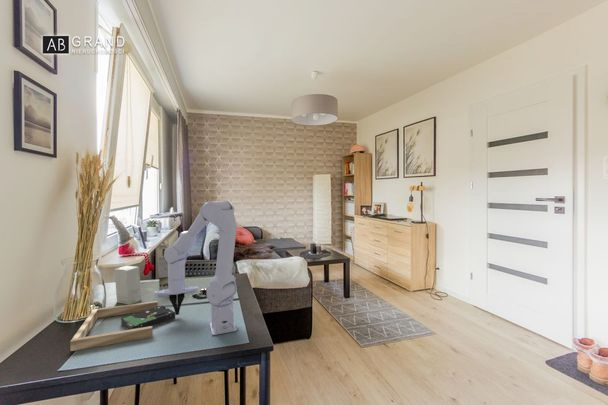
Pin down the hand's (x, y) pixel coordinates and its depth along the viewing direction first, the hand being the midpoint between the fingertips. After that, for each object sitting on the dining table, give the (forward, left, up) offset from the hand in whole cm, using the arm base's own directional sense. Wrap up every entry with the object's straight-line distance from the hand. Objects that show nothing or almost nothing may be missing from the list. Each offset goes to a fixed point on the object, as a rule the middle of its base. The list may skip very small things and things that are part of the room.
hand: (177, 313), depth 108 cm
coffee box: (+35, +4, -2) cm, 35 cm away
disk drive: (+1, +10, -2) cm, 10 cm away
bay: (0, +17, -1) cm, 17 cm away
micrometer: (+22, -13, -2) cm, 26 cm away
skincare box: (+25, +19, -2) cm, 32 cm away
